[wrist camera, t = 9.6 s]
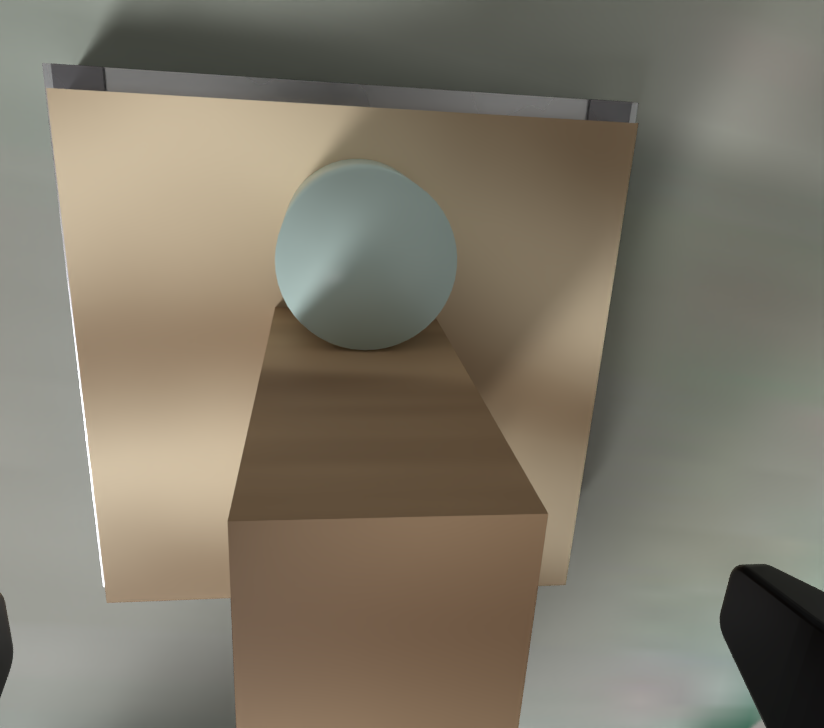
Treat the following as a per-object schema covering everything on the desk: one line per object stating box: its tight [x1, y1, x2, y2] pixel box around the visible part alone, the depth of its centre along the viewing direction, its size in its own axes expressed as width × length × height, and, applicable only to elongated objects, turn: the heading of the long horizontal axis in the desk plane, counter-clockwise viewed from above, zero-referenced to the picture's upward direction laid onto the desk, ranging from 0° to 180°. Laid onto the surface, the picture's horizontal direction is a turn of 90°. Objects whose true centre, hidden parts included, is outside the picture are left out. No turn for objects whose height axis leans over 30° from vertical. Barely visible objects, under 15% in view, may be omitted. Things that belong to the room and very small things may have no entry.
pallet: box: [46, 88, 638, 728], centre depth 13 cm, size 12×12×10 cm
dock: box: [42, 63, 639, 587], centre depth 18 cm, size 13×13×2 cm
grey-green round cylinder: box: [275, 159, 457, 350], centre depth 13 cm, size 3×3×3 cm
